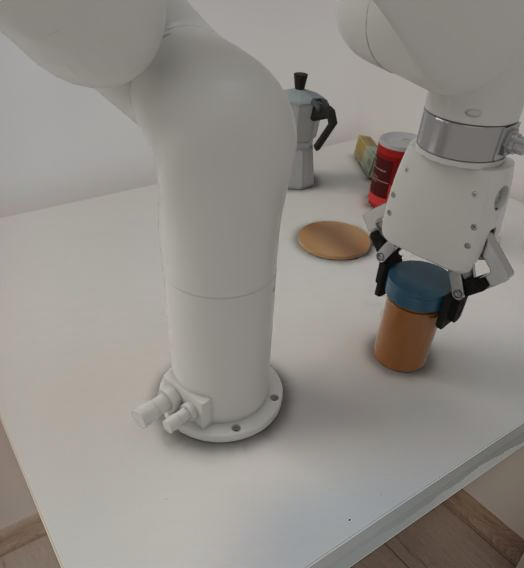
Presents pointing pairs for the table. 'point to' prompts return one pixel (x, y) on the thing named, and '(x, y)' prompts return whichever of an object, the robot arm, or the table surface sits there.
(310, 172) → the coffee maker
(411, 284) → the jar lid
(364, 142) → the medication box
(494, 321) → the table surface
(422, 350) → the jar
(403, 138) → the canned food
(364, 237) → the coaster
